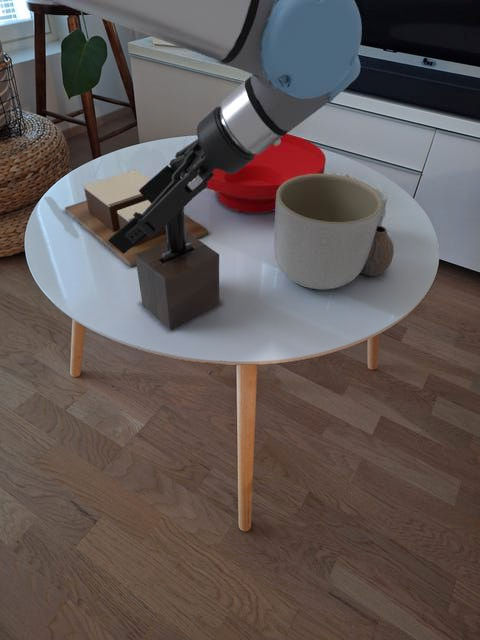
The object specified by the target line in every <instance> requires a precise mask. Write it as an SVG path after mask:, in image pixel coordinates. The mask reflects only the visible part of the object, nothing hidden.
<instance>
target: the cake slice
mask: <svg viewBox="0 0 480 640" xmlns="http://www.w3.org/2000/svg"><path fill="white" fill-rule="evenodd" d="M150 205H151V203H150V202H149V201H148V200H146V201H143V202H141V203H138V204H135V205H132V206H129V207H126V208H123V209H121V210H118V211H117V213H118V219H119V225H120V229H121V228H122V227H123V226H125V225H126V224H127V223H128V222H129V221H131V220H132V219H133V218H134V216H133V215H134V213H135V212H137V213H138V214H139V213H141V214H142V213H143V212H144V211H145V210H146V209H147V208H148V207H149V206H150ZM164 234H166V227H165V226H164V227H163V228H162V229H161V230H160V231H159V232H158V233H157V235H156V236H155V237H154V238H157V237H159V236H162V235H164ZM154 238H150V237H149V236H148V235H147V236H146V237H145V238H143V239H142V240H141V241H140V242H138V243H137V244H136V245H134V246H137V245H139V244H142V243H144V242H147V241H149V240H152V239H154ZM134 246H133V247H134Z"/></svg>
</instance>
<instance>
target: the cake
mask: <svg viewBox="0 0 480 640" xmlns="http://www.w3.org/2000/svg"><path fill="white" fill-rule="evenodd" d="M151 179H152V178H149V177H148V176H146V175H144V174H143V173H141V172H140V171H138V170H136V169H132V170H128V171H126V172H122V173H119V174H116V175H113V176H109V177H107V178H104V179H99V180H97V181H94V182H90V183H86V184H83V189H84V195H85V201H86V200H87V204H88V209H89V212H90V213H91V214H92V215H93V216H95V217H96V218H97V219H98V220H100V221H101V222H102V223H103V224H104V225H106V226H107V227H108V228H109V229H111V230H112V231H113V232H115V231H117V230H120V225H119V219H118V213H117V211H118V210H121V209H123V208H126V207H129V206H132V205H135V204H138V203H141V202H143V201H146V200H147V199H146V198H145V197H144V196H143V195H142V194H141V193H140V192H139V190H140V189H141V188H142V187H143V186H144V185H145V184H146V183H147V182H149V181H150V180H151Z"/></svg>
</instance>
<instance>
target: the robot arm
mask: <svg viewBox="0 0 480 640" xmlns="http://www.w3.org/2000/svg"><path fill="white" fill-rule="evenodd" d="M50 1H52V2H55V3H57V4H59V5H63V6H65V7H68V8H71V9H74V10H77V11H79V12H82V13H85V14H88V15H91V16H93V17H97V18H99V19H101V20H104V21H107V22H110V23H113V24H115V25H118V26H121V27H123V28H127V29H129V30H132V31H135V32H137V33H141V34H143V35H145V36H149V37H151V38H155V39H157V40H160V41H163V42H165V43H169V44H172V45H174V46H177V47H179V48H183V49H186V50H188V51H191V52H193V53H197V54H199V55H201V56H205V57H207V58H210V59H213V60H216V61H218V62H220V63H223V64H224V65H227V66H230V67H231V68H235V69H237V70H241V71H243V72H246V73H248V74H251V76H249V77H248V78H247V79H245V80H244V81H243V82H242V83H240V84H239V86H237V87H236V88H235V89H234V90H233V91H232V92H231V93H230V94H229V95H228V96H227V97H225V98H224V99H223V100H222V101H221V103H220V106H217V107H215V108H214V109H213V110H211V111H210V112H208V114H207V115H206V116H205V117H204V118H203V119H202V120H201V121H200V122H199V123H198V124H197V125H196V136H197V139H196V140H193V141H192V142H191V143H190V144H188V145H186V146H185V147H183V148H182V149H181V150H179V151H177V152H176V153H175V156H174V157H175V158H173V159H170V161H169V163H168V164H167V165H165V166H164V167H163V168H162V169H161V170H160V171H159V172H157V173H156V174H155V175H154V176H153V177H152V178H150V179H151V180H150V181H149V182H147V183H146V184H145V185H144V186H143V187H142V188H141V189H140V190H139V192H140V193H141V194H142V195H143V196H144V197H145V198H146V199H147V200H148V201H149V202H150V203H151V205H150V206H149V207H148V208H147V209H146V210H145V211H144V212H143V213H142V214H141V213H139V214H138V213H137V212H135V213H134V215H133V216H134V218H133V219H132V220H131V221H129V222H128V223H127V224H126V225H125V226H123V227H122V228H121V229H120V230H119V231H117V232H116V233H115V234H114V235H113V236H111V237H110V238H109V240H108V241H109V242H110V243H111V244H113V245H114V246H115V247H116V248H117V249H118V250H119V251H121V252H122V253H123V254H124V253H125V252H127V251H128V250H129V249H131V248H132V247H133V246H134V245H136V244H137V243H138V242H140V241H141V240H142V239H143V238H145V237H146V236H147V235H148V236H149V237H150V238H154V237H155V236H156V235H157V233H158V232H159V231H160V230H161V229H162V228H163V227H164V226H165V225H166V224H168V223H169V222H170V221H171V220H172V219H173V218H174V217H175V216H176V215H177V214H178V213H179V212H180V211H181V210H182V209H183V208H184V209H185V207H186V206H187V205H188V204H189V203H190V202H191V201H192V200H193V199H194V198H196V196H198V195H199V194H200V193H201V192H202V191H204V190H206V189H207V188H206V187H207V185H208V183H207V182H208V181H209V180H210V179H211V178H212V176H213V175H214V173H213V171H214V169H219V170H222V171H224V172H226V173H229V174H234V173H236V172H238V171H239V170H240V169H242V168H243V167H244V166H245V165H247V164H248V163H249V162H251V161H252V160H253V159H254V157H255V154H257V155H258V154H260V153H262V152H263V151H264V150H266V149H267V148H268V147H269V146H270V145H271V144H274V145H275V146H278V145H279V144H280V143H281V140H280V138H281V137H282V136H283V135H285V134H289V132H291V131H292V130H294V129H295V128H296V127H298V126H299V125H300V124H301V123H303V122H304V121H306V120H307V119H308V118H309V117H311V116H312V115H313V114H314V113H316V112H318V111H319V110H321V108H323V107H324V106H325V105H327V104H328V103H332V102H333V100H334V99H335V98H336V97H337V96H338V95H340V94H341V93H342V92H343V91H344V90H346V89H347V88H348V87H349V86H350V84H352V83H353V82H354V81H356V79H357V78H358V76H359V75H360V73H361V62H360V61H361V60H360V57H359V55H358V54H359V51H360V47H361V42H362V34H363V32H362V31H363V30H362V29H363V26H362V18H361V14H360V10H359V7H358V5H357V3H356V1H355V0H50Z"/></svg>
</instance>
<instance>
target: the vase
mask: <svg viewBox="0 0 480 640" xmlns="http://www.w3.org/2000/svg"><path fill="white" fill-rule="evenodd" d="M394 254H395V249H394V243H393V241H392V239H391V237H390V235H389V233H388V230H387V228H386V227H385V226H383V225H381V226H377V229H376V233H375V236H374V240H373V243H372V247H371V250H370V253H369V256H368V259H367V261H366V263H365V265H364V267H363V269H362V271H361V272H360V274H361V275H364V276H367V277H377V276H380V275H382V274H384V273H385V272H386V271H387V270H388V269H389V267H390V266H391V264H392V262H393V259H394Z"/></svg>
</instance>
